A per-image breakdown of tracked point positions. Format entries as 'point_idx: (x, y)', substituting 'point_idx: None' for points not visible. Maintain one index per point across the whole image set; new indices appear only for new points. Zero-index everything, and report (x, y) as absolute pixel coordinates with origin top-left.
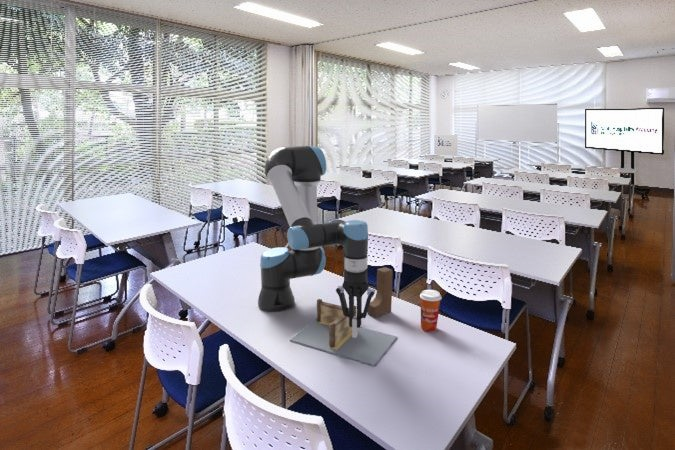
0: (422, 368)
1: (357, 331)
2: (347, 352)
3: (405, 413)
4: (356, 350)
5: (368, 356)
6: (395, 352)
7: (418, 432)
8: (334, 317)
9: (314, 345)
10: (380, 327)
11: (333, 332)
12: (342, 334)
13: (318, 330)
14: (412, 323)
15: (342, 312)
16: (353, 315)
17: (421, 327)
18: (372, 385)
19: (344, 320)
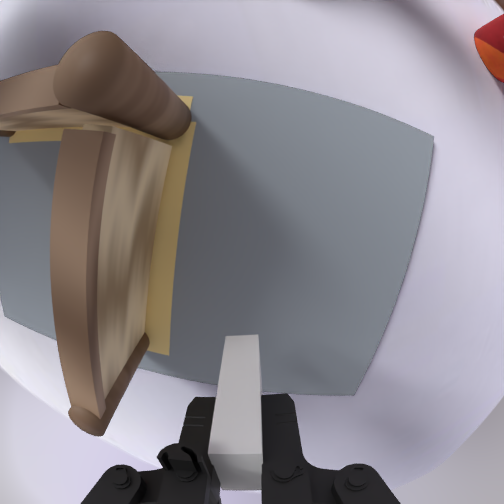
0: (484, 332)
1: (260, 372)
2: None
3: (404, 464)
4: (261, 336)
5: (327, 361)
6: (431, 275)
7: (412, 474)
8: (38, 121)
9: None
10: (327, 41)
11: (119, 401)
12: (141, 272)
13: (28, 213)
14: (441, 12)
15: (46, 111)
16: (212, 481)
17: (485, 56)
18: (346, 449)
19: (100, 283)
